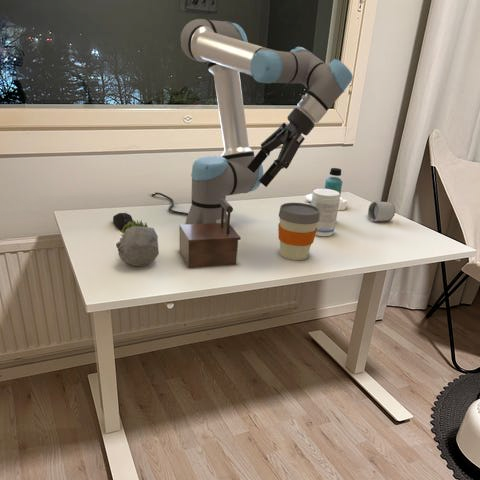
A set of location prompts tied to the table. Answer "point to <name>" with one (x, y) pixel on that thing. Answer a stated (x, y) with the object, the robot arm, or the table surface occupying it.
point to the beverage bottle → (334, 180)
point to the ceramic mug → (381, 211)
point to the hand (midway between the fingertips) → (256, 176)
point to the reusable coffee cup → (297, 229)
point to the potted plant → (138, 244)
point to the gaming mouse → (121, 220)
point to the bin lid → (212, 228)
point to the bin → (207, 252)
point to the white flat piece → (341, 203)
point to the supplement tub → (326, 210)
